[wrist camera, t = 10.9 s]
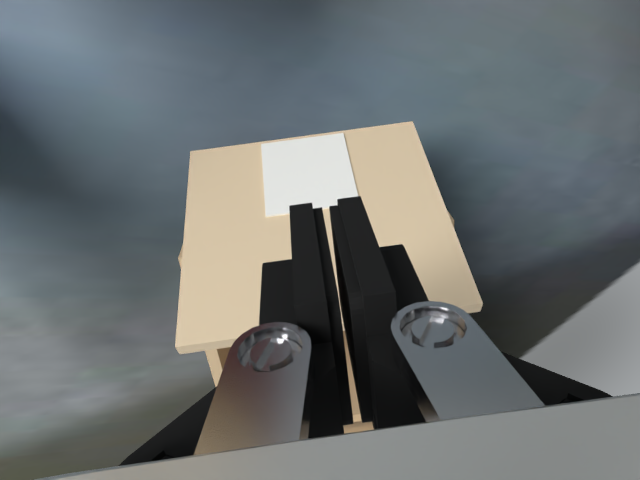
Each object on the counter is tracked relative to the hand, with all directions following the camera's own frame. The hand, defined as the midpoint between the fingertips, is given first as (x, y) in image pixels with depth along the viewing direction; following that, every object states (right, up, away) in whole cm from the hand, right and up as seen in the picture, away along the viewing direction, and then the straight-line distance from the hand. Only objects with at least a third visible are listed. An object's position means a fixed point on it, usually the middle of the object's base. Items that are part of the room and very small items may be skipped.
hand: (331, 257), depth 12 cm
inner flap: (0, 0, +12) cm, 12 cm away
